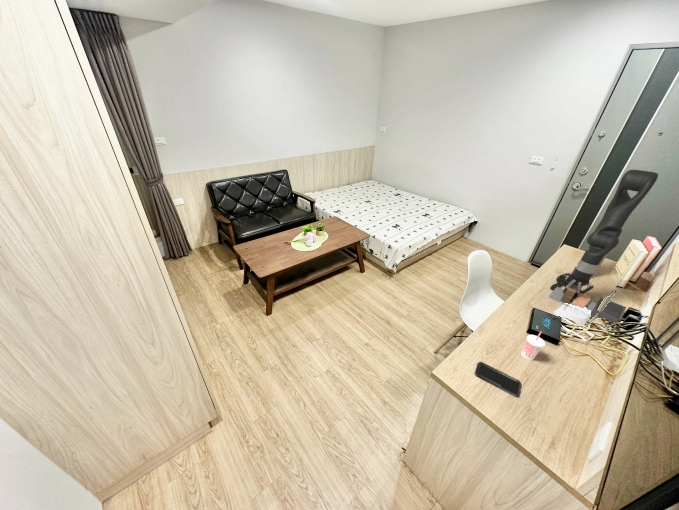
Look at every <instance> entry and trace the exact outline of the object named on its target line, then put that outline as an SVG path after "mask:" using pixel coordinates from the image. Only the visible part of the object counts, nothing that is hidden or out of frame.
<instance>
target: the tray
mask: <svg viewBox="0 0 679 510" xmlns="http://www.w3.org/2000/svg"><path fill="white" fill-rule="evenodd" d="M603 299H605V298H604V297H600V298H599V299H598V301H597V302H596V303H597V304H596V305H595V307H594V309H593V310H592V312H591V316H592V317H594V316H595V315H596V314H597V313H599V314H598V318H605V319H607V320H608V321H611V322H619V323H621V321H622V319H623V316H624V313H625V311H626V309H627V307H626V306H624V305H622V304H619V303H617V302H614V301H611V300H609V301H610V302H609V303H608V304H607V306H606V307H605V308H604V310H603V311H602V312H599V311H598V310H597V309H598V307H599V305H600V304H601V302H602V301H603Z"/></svg>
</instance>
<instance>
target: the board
mask: <svg viewBox="0 0 679 510" xmlns="http://www.w3.org/2000/svg"><path fill="white" fill-rule="evenodd" d="M564 289H565V288H564ZM564 289H563V288H561V287H556V288H555V289H554V291H551V293H549V296H548V298H550V299H552V300H554V301H556V302H558V303H561V304H563V305H565V304H564V303H567V302H564V301H562V300H561V298H562V296H563V295H564V293H563V291H564ZM574 299H575V298H572V299H571V301H570V302H569V303H568V304H572V302H573V300H574ZM596 304H597V302H595V301H593V300H591V299H590V301H589V302H588V304H587V305H586V306H585V307H586V308H587V309H588V310H591V312H592V310H593V309H594V307H595V305H596ZM572 305H574V304H572ZM575 306H577V305H575Z"/></svg>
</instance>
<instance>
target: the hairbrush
mask: <svg viewBox="0 0 679 510" xmlns="http://www.w3.org/2000/svg"><path fill="white" fill-rule="evenodd" d="M564 274H565V275H571V274H572V273H570V272H565V273H561V274H559V275H558V276H557V277H556V280H555V281H556V283H554V284H552V285H551V286H550V288H549V289H550V290H551V292H553V291H554V289H555V288H556V287H559V288H561V286H562V276H563V275H564ZM569 283H570V280H569V278H567V279H566V284H567V285H568V284H569Z"/></svg>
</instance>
